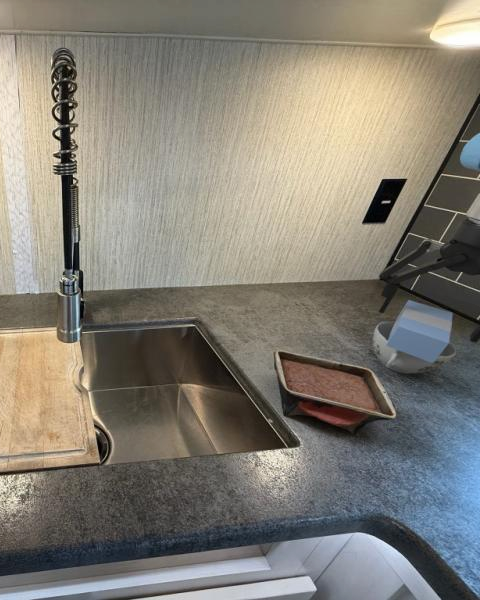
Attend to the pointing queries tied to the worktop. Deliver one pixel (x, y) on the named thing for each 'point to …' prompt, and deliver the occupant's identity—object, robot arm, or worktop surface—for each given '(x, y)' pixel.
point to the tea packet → (421, 331)
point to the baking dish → (331, 391)
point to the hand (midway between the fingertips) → (424, 324)
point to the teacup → (403, 360)
